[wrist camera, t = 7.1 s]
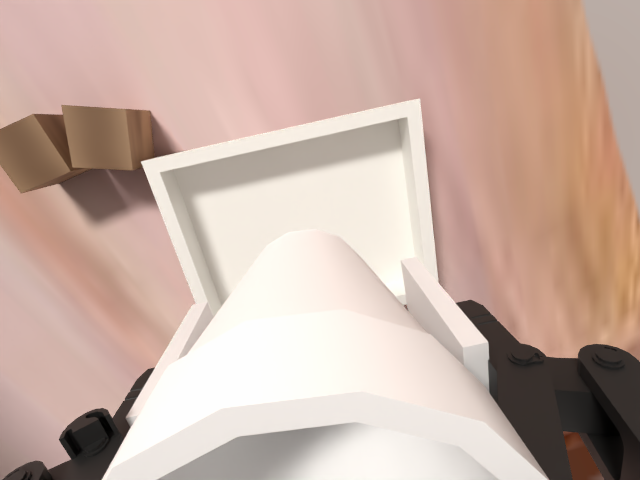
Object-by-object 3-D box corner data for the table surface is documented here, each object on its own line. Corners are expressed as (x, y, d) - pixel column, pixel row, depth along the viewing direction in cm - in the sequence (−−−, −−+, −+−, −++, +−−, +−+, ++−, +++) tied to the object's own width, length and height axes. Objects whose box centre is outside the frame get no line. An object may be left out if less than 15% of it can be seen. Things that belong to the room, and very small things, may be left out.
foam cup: (408, 325, 20) (574, 644, 8) (263, 371, 21) (208, 736, 8) (364, 174, 17) (527, 312, 5) (194, 233, 18) (-52, 493, 5)
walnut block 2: (104, 160, 27) (72, 167, 23) (96, 107, 26) (61, 105, 22) (155, 163, 27) (132, 170, 24) (150, 110, 26) (125, 109, 22)
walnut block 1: (59, 183, 27) (20, 193, 24) (26, 135, 26) (-20, 138, 22) (102, 164, 27) (70, 171, 23) (71, 114, 26) (33, 114, 22)
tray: (221, 323, 32) (212, 346, 29) (160, 156, 27) (140, 161, 24) (425, 279, 32) (439, 297, 29) (405, 101, 27) (419, 98, 23)
